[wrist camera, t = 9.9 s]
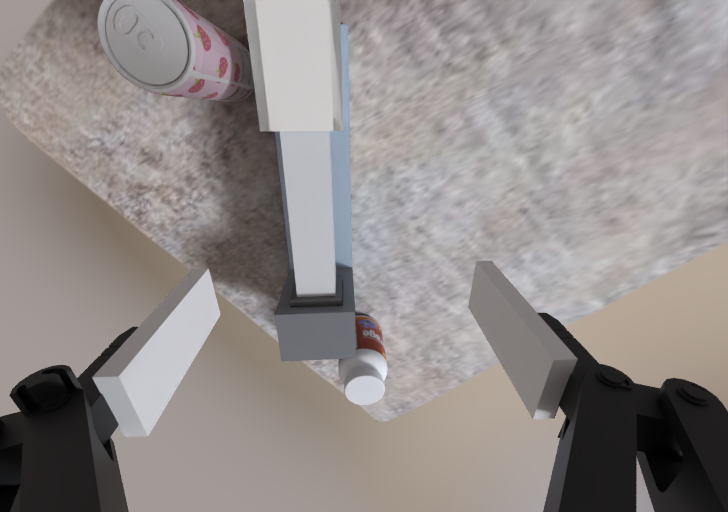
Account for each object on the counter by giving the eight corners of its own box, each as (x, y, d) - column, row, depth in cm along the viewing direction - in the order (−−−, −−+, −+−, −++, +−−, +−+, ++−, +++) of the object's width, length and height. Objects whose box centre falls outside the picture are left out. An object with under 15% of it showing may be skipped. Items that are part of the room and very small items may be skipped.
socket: (289, 269, 40) (274, 315, 31) (352, 267, 41) (355, 311, 32) (294, 308, 43) (281, 361, 34) (352, 306, 43) (355, 357, 34)
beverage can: (206, 25, 30) (95, -45, 17) (264, 54, 32) (206, 10, 18) (194, 87, 32) (87, 69, 19) (249, 111, 34) (187, 111, 20)
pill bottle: (389, 332, 47) (402, 392, 37) (357, 353, 48) (361, 417, 38) (363, 305, 45) (369, 362, 35) (330, 329, 46) (327, 390, 36)
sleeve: (270, 23, 30) (241, -12, 21) (340, 24, 30) (339, -10, 22) (280, 126, 33) (260, 131, 25) (343, 126, 34) (343, 130, 25)
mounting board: (264, 25, 31) (262, 23, 30) (347, 26, 31) (347, 24, 30) (295, 304, 44) (294, 308, 43) (352, 302, 44) (352, 306, 43)
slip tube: (277, 93, 29) (264, 90, 24) (335, 93, 30) (334, 90, 25) (299, 310, 39) (293, 338, 34) (343, 308, 40) (343, 336, 35)
